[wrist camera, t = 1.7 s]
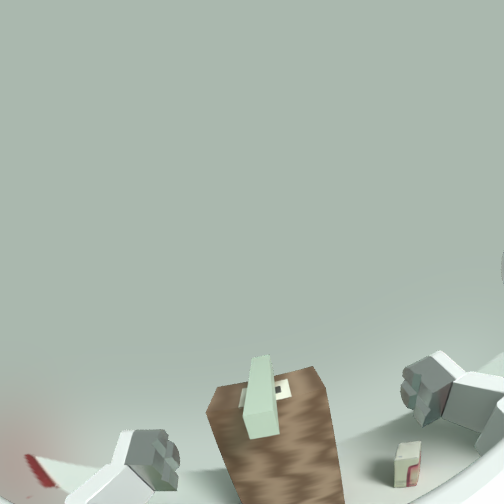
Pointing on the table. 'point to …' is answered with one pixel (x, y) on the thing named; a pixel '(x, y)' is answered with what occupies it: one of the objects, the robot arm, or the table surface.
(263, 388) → the bar
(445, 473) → the table surface
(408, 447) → the small box
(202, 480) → the table surface
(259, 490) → the stand
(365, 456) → the table surface
